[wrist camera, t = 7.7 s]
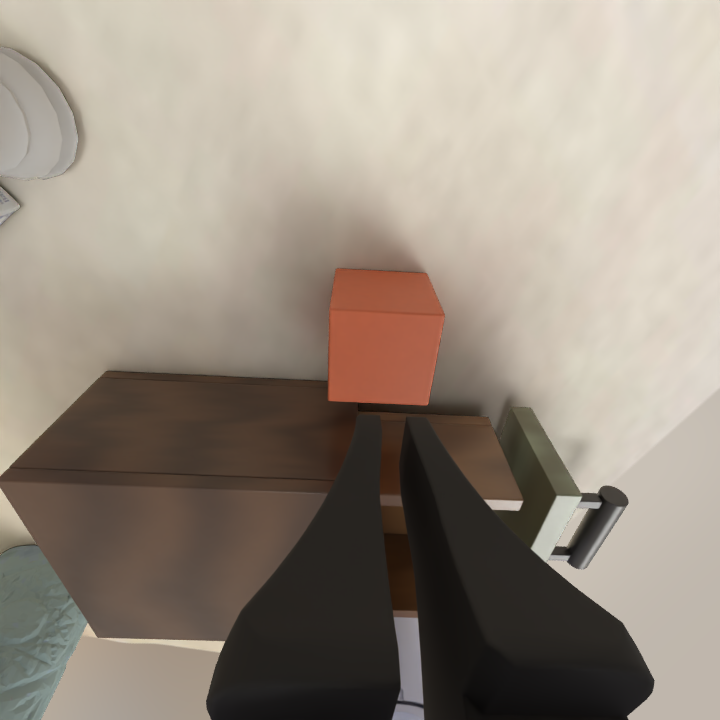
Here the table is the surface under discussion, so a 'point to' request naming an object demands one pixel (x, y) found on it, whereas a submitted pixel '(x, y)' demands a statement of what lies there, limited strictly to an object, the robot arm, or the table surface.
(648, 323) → the table surface
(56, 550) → the cabinet
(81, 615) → the grey-green pot
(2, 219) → the medicine box
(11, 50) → the rook chess piece
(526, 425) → the drawer
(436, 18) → the table surface
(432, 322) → the block
